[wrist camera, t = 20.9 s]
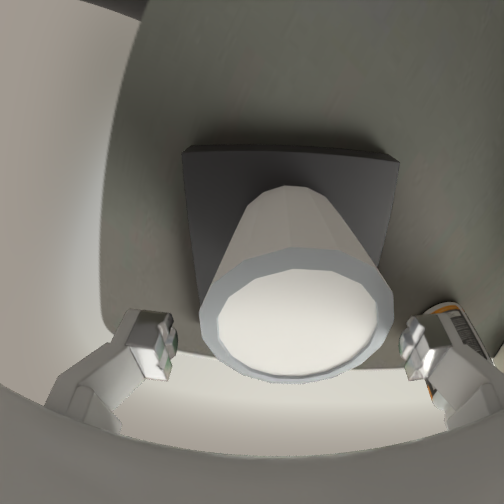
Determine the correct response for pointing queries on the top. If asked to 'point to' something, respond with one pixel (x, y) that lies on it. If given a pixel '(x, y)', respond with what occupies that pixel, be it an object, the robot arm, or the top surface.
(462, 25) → the top surface
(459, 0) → the top surface
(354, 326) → the shot glass
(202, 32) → the top surface
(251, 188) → the grey push button base
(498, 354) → the box
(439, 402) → the pill bottle
